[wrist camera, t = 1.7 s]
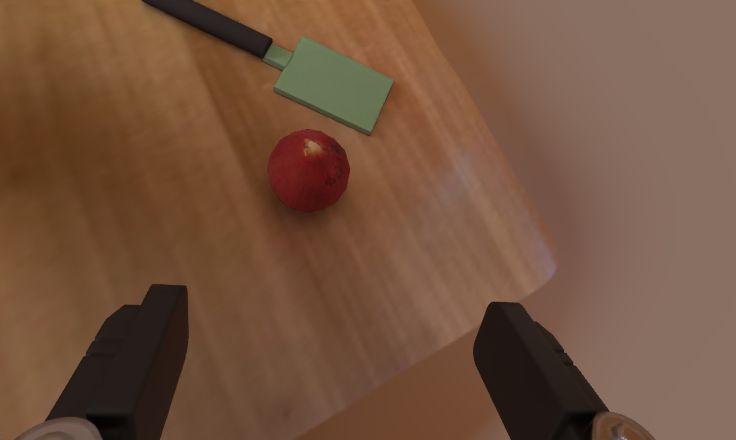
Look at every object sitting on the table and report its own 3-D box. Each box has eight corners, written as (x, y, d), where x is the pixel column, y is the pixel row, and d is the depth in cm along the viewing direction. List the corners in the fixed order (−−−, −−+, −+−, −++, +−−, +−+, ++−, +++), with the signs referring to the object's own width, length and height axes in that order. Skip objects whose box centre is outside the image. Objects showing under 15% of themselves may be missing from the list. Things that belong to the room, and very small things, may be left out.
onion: (330, 151, 36) (347, 98, 28) (348, 215, 34) (371, 177, 27) (261, 163, 34) (259, 110, 26) (277, 230, 33) (280, 195, 25)
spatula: (128, 23, 35) (121, 6, 33) (166, -25, 37) (161, -43, 35) (369, 136, 37) (374, 126, 35) (392, 84, 39) (397, 72, 37)
